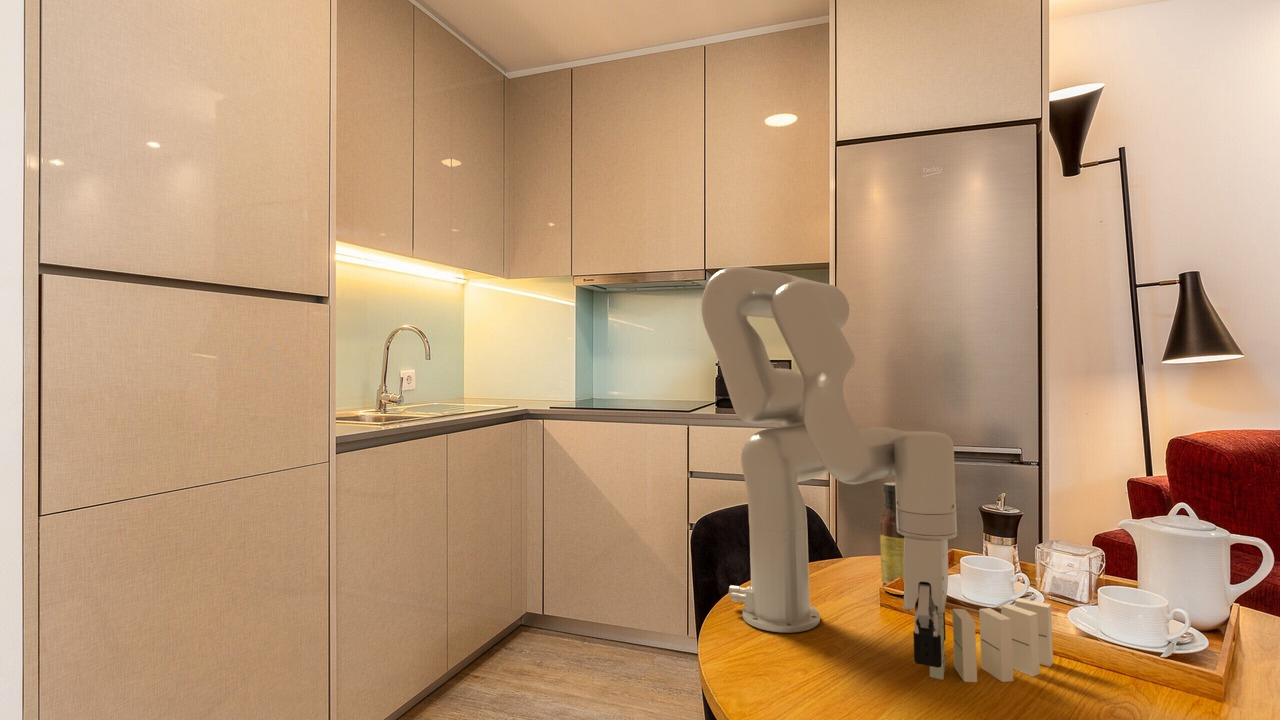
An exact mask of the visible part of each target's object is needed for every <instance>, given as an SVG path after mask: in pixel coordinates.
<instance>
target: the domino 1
mask: <svg viewBox="0 0 1280 720" xmlns="http://www.w3.org/2000/svg"><path fill="white" fill-rule="evenodd" d="M952 636H953V637H952V638H953V659H954V660H953V661H954V663H953V665H954V669H955V670H956V672H957V673H958V675H959V676H960V678H961V679H962V681H963V682H965V683H978V669H977V668H978V667H977V666H978V665H977V642H976V638H977V637H976V620H975V619H974V617H972V615H971V614H970V613H969V612H968V610H966V609H965V608H952Z"/></svg>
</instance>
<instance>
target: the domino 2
mask: <svg viewBox="0 0 1280 720" xmlns="http://www.w3.org/2000/svg"><path fill="white" fill-rule="evenodd" d="M978 611H979V633H980V634H979V636H980V639H979V640H980V659H981V661H980V662H981V667H980V668H981V669H982V670H984V671H985V672H987V673H988V674H990V675H991V676H992V677H994V678H995V679H997V680H999V681H1000V682H1002V683H1006V682H1013V681H1014V669H1013V657H1012V632H1011V619H1010V618H1008V617H1006V616H1004V615H1002V614H1001V612H998V611H997V610H994V609H992V608H990V607H987V608H979V609H978Z"/></svg>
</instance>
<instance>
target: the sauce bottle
mask: <svg viewBox="0 0 1280 720" xmlns="http://www.w3.org/2000/svg"><path fill="white" fill-rule="evenodd" d="M883 492H884V494H885V496H884V497H885V499H884V500H885V503H884V505H885V510H884V511H883V513H882V514H881V515H880V518H879V528H880V530H879V531H880V532H879V545H880V546H879V547H880V566H881V582H882V586H883V585H886V584H887V583H889V582H892V581H894V580H895V579H897V578H903V582H904V538H905V536H904V535H901V534H899V533H898V532H897V521H896V492H895V481H892V482H885V483H883Z"/></svg>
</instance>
